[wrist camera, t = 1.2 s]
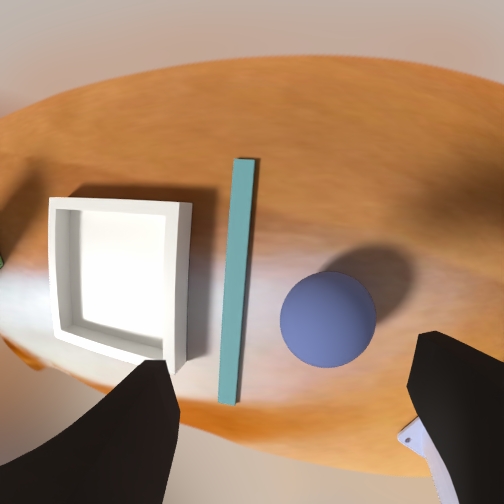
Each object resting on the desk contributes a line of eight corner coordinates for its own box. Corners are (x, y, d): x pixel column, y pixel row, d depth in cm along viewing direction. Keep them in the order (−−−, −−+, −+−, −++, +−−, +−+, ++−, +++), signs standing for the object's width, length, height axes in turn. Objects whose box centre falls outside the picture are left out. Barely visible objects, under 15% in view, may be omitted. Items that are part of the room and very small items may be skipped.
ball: (384, 300, 18) (406, 331, 13) (328, 359, 19) (331, 403, 14) (322, 246, 18) (326, 259, 13) (267, 309, 19) (251, 342, 14)
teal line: (235, 403, 20) (234, 405, 20) (219, 400, 20) (217, 402, 20) (255, 160, 18) (254, 159, 18) (235, 159, 18) (234, 158, 18)
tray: (192, 202, 19) (179, 202, 17) (186, 361, 20) (174, 374, 19) (67, 197, 21) (49, 197, 19) (70, 329, 22) (55, 336, 20)
